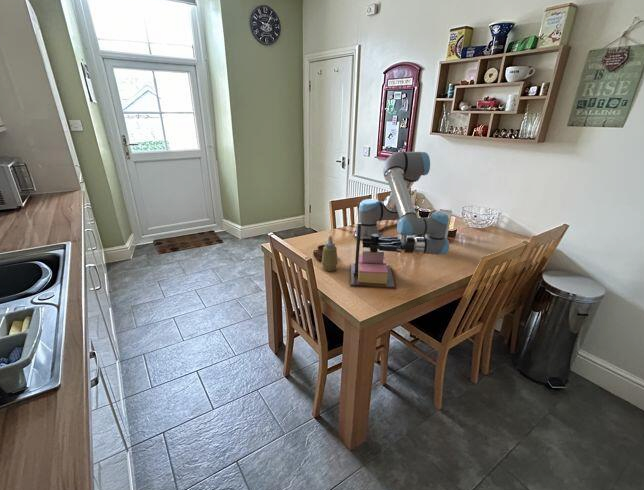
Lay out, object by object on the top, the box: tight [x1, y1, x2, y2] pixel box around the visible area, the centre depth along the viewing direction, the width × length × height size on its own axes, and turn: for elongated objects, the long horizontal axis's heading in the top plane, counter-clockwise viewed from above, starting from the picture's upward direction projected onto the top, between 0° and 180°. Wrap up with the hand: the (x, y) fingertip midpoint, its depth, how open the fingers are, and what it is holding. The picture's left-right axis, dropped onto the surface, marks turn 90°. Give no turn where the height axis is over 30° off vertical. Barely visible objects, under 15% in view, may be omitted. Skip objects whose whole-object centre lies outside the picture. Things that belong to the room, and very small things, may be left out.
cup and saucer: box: [312, 244, 325, 261], centre depth 177 cm, size 12×12×6 cm
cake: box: [358, 254, 388, 284], centre depth 159 cm, size 17×13×6 cm
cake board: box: [350, 222, 396, 290], centre depth 155 cm, size 22×20×27 cm
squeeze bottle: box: [321, 235, 338, 272], centre depth 163 cm, size 8×8×18 cm
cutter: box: [362, 234, 385, 265], centre depth 154 cm, size 4×10×15 cm, turn 85°
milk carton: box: [438, 208, 453, 239], centre depth 203 cm, size 7×7×19 cm
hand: (362, 242), depth 153 cm, fingers closed on cutter, 4 cm apart
